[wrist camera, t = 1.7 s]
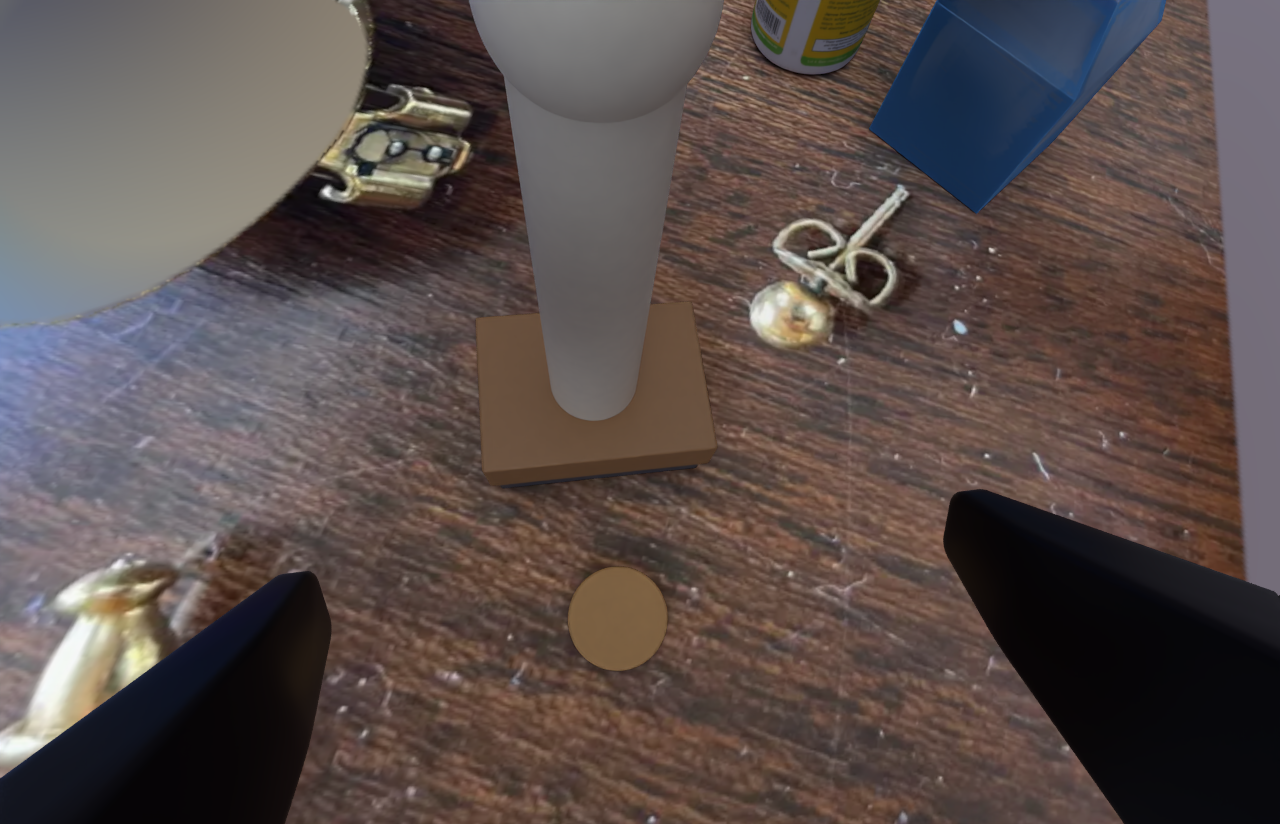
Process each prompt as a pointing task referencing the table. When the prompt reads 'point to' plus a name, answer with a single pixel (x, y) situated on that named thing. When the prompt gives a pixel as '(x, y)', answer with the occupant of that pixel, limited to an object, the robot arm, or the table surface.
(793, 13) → the supplement bottle
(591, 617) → the disc
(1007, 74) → the perfume bottle
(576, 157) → the stamp
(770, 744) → the table surface
